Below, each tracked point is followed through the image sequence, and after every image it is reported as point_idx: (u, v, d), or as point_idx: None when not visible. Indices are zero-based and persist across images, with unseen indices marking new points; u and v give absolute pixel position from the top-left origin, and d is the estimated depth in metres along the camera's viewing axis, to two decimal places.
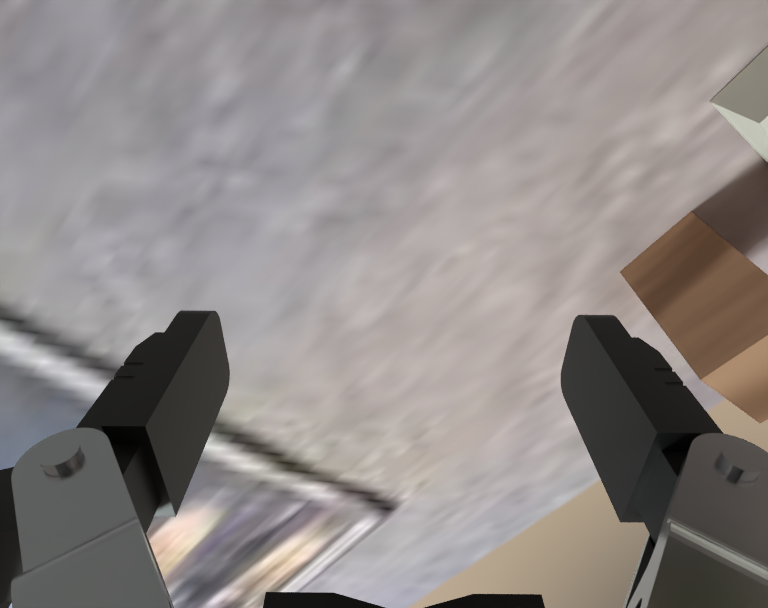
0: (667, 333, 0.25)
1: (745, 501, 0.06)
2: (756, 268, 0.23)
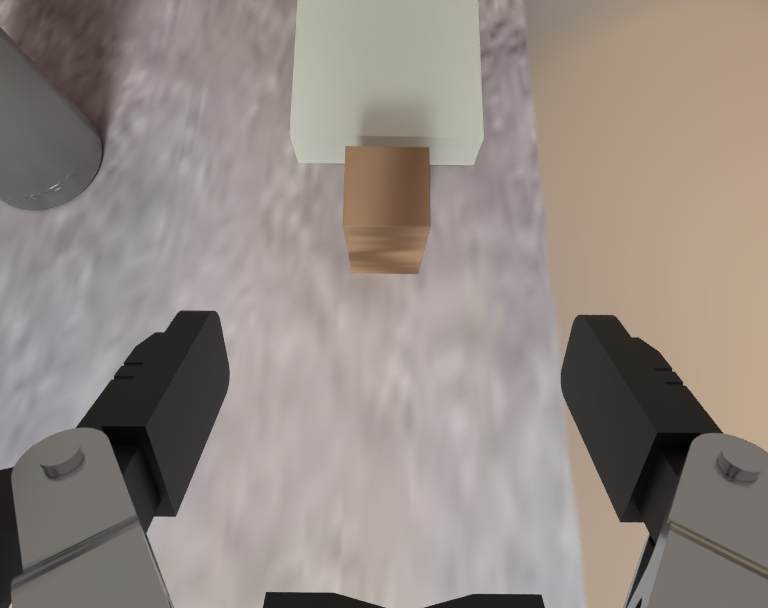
0: None
1: (745, 501, 0.06)
2: None
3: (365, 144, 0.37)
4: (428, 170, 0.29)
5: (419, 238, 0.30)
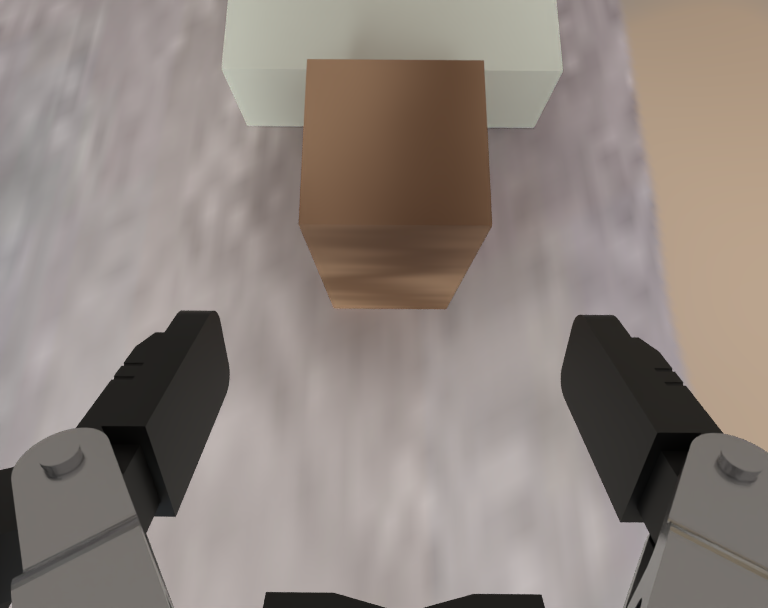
0: None
1: (745, 501, 0.06)
2: None
3: None
4: (483, 107, 0.14)
5: (461, 251, 0.15)
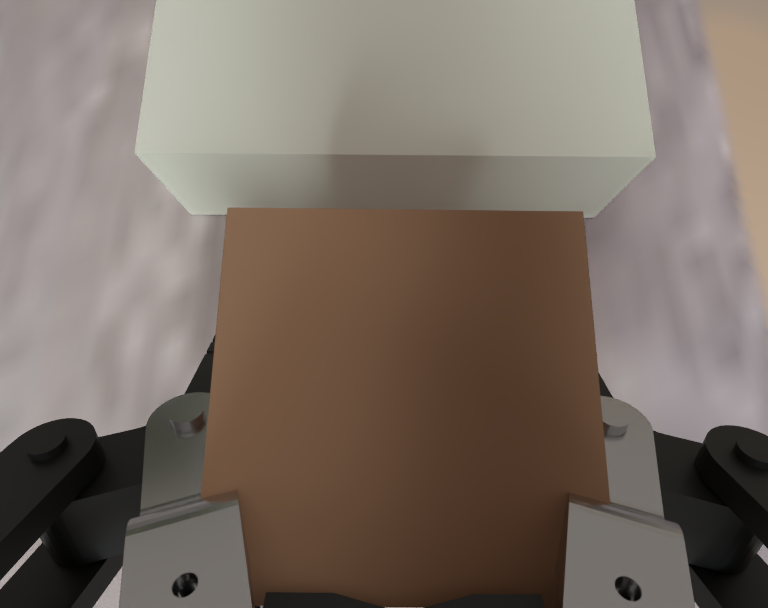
0: None
1: (607, 452, 0.07)
2: None
3: (340, 175, 0.14)
4: (588, 318, 0.07)
5: None
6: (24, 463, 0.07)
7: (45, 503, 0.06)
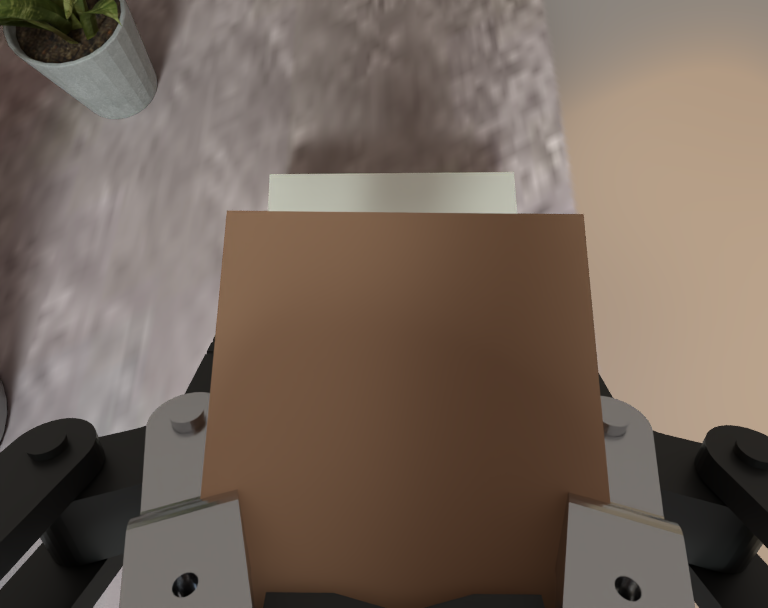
0: None
1: (607, 451, 0.07)
2: None
3: None
4: (588, 321, 0.07)
5: None
6: (24, 463, 0.07)
7: (45, 503, 0.06)
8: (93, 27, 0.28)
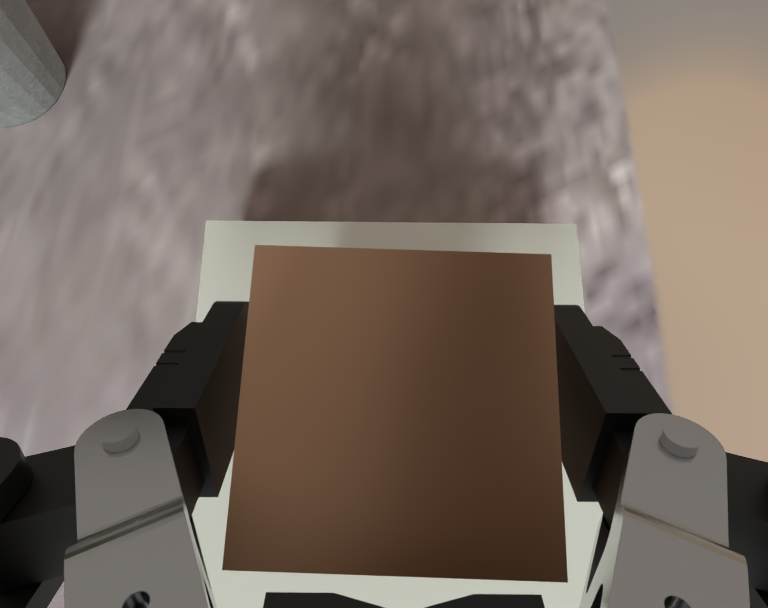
0: None
1: (681, 475, 0.07)
2: None
3: None
4: (551, 344, 0.08)
5: None
6: None
7: None
8: None
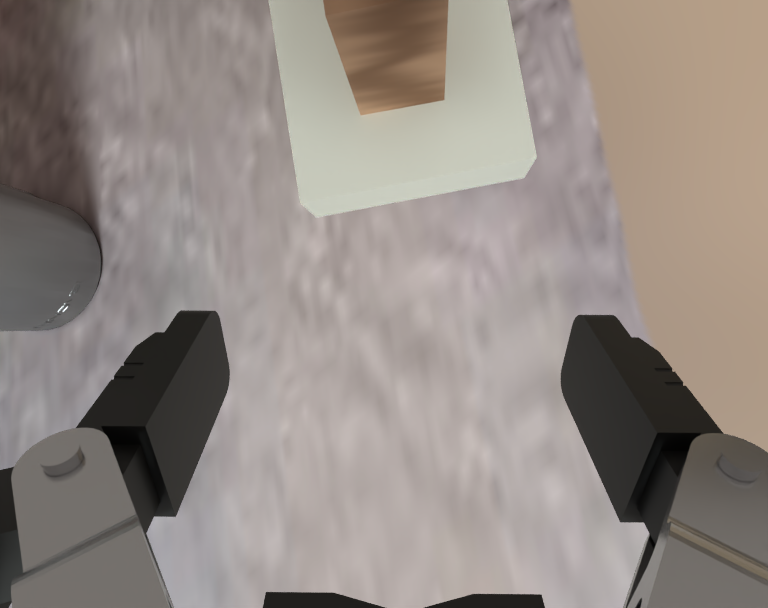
0: (340, 58, 0.23)
1: (745, 501, 0.06)
2: None
3: (391, 191, 0.30)
4: None
5: (436, 23, 0.21)
6: None
7: None
8: None
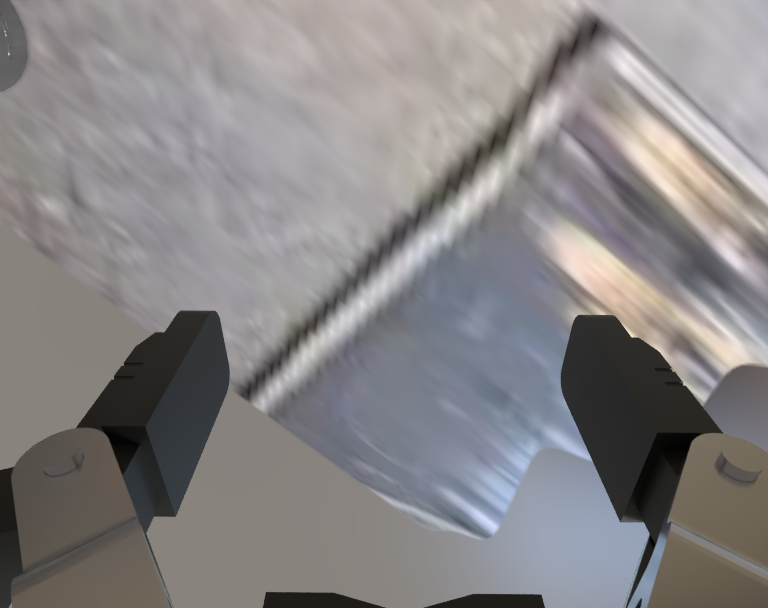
0: None
1: (745, 501, 0.06)
2: None
3: None
4: None
5: None
6: None
7: None
8: None
